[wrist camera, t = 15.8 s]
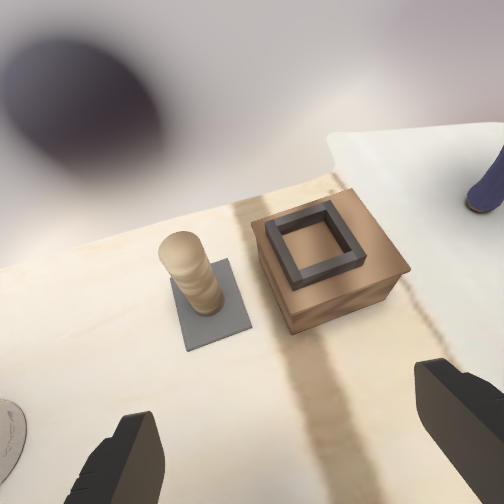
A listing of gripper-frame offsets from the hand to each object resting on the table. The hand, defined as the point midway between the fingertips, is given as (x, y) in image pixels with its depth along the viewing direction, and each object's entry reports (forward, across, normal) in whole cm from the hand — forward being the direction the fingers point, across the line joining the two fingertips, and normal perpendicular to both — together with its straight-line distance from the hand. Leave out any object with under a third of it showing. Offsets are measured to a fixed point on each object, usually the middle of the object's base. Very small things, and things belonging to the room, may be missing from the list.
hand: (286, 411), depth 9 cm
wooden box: (+29, -8, +7) cm, 31 cm away
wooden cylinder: (+28, +6, +7) cm, 30 cm away
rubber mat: (+29, +6, +7) cm, 30 cm away
